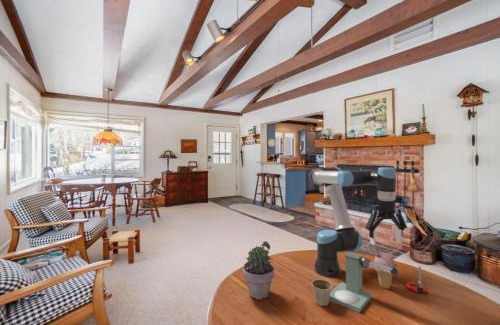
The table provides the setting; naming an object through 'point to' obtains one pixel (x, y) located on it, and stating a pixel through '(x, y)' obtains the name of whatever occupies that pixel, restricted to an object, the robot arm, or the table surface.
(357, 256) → the press
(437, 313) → the table surface
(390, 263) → the ice cream cone
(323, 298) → the flower pot
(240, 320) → the table surface
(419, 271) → the tow hook
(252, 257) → the potted plant
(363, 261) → the lever
